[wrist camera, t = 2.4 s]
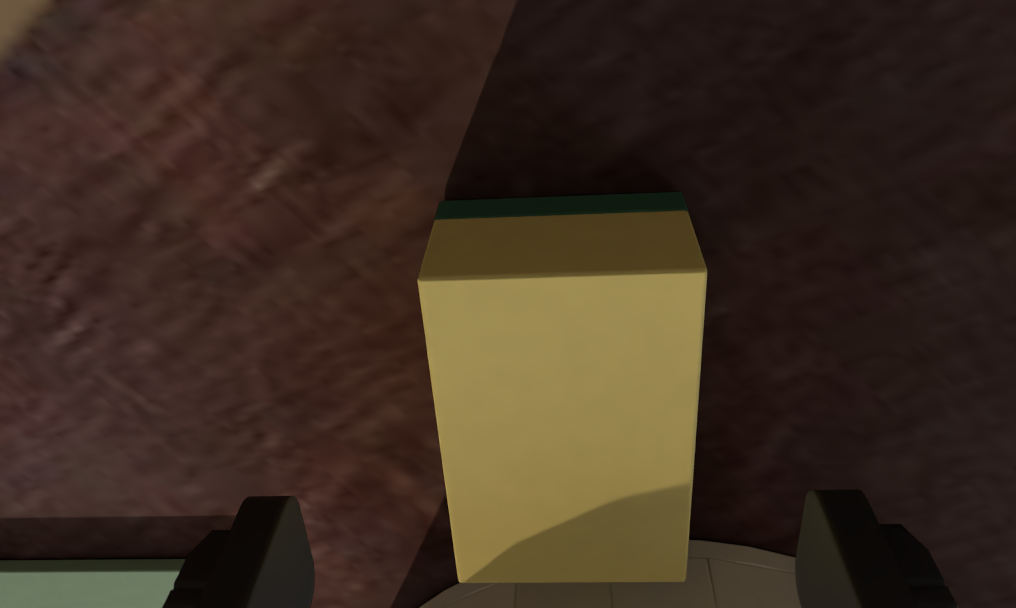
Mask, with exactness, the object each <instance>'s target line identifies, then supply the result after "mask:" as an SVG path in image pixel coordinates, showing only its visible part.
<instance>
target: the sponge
mask: <svg viewBox="0 0 1016 608" xmlns="http://www.w3.org/2000/svg"><path fill="white" fill-rule="evenodd" d="M434 220H435V221H434V225H433V228H432V231H431V235H430V238H429V242H428V245H427V249H426V252H425V256H424V259H423V263H422V266H421V270H420V273H419V277H418V287H419V294H420V302H421V309H422V316H423V324H424V331H425V339H426V346H427V353H428V361H429V368H430V376H431V383H432V390H433V398H434V405H435V413H436V420H437V427H438V435H439V442H440V450H441V457H442V464H443V472H444V479H445V487H446V494H447V501H448V509H449V516H450V524H451V531H452V538H453V546H454V553H455V561H456V568H457V575H458V580H459V582H460V583H548V582H684V581H685V579H686V572H687V557H688V543H689V528H690V514H691V500H692V485H693V471H694V457H695V442H696V428H697V413H698V399H699V385H700V370H701V356H702V341H703V327H704V313H705V298H706V284H707V268H706V265H705V262H704V259H703V256H702V253H701V250H700V247H699V244H698V241H697V238H696V235H695V232H694V229H693V226H692V223H691V220H690V217H689V214H688V209H687V206H686V203H685V200H684V197H683V194H682V192H664V193H638V194H612V195H586V196H559V197H533V198H507V199H481V200H455V201H440V202H439V206H438V209H437V213H436V216H435V219H434Z"/></svg>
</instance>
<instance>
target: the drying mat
mask: <svg viewBox="0 0 1016 608" xmlns="http://www.w3.org/2000/svg"><path fill="white" fill-rule="evenodd" d="M185 560H186V559H112V560H0V608H162V607H163V605H164V603H165V601H166V599H167V597H168V595H169V593H170V591H171V590H173V588H174V582H175V580H176V578H177V576H178V574H179V572H180V570H181V568H182V566H183V564H184V562H185Z"/></svg>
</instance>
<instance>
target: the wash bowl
mask: <svg viewBox="0 0 1016 608" xmlns="http://www.w3.org/2000/svg"><path fill="white" fill-rule="evenodd" d="M795 559H796V558H795V557H791V556H787V555H783V554H779V553H774V552H770V551H766V550H762V549H757V548H753V547H749V546H742V545H734V544H727V543H719V542H711V541H704V540H689V543H688V557H687V572H686V579H685V581H684V582H548V583H458V584H456V585H454V586H452V587H450V588H448V589H446V590H444V591H443V592H441V593H440V594H438V595H437V596H435V597H434V598H432V599H431V600H429V601H428V602H426V603H425V604H423V605H422V606H420V607H419V608H802V607H801V604H800V601H799V597H798V593H797V587H796V578H795Z"/></svg>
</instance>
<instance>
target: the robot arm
mask: <svg viewBox="0 0 1016 608" xmlns="http://www.w3.org/2000/svg"><path fill="white" fill-rule="evenodd" d="M795 578H796V587H797V593H798V597H799V601H800V604H801V607H802V608H957V604H956V602H955V600H954V599H953V597H952V595H951V593H950V591H949V589H948V587H945V585H944V579H943V577H942V576H941V574H940V572H939V570H938V568H937V566H936V564H935V562H934V560H933V558H932V556H931V554H930V552H929V551H928V549H926V548H925V547H924V546H923V545H922V544H921V543H920V542H919V541H918V540H917V539H916V538H915V537H914V536H913V535H912V534H910V533H909V532H908V531H907V530H906V529H905V528H904V527H903V526H902V525H901V524H879V523H878V521H877V519H876V517H875V515H874V513H873V511H872V508H871V506H870V504H869V502H868V500H867V498H866V496H865V495H864V493H863V492H862V491H861V490H810V491H808V493H807V495H806V499H805V504H804V510H803V516H802V522H801V528H800V534H799V540H798V546H797V553H796V559H795ZM314 579H315V573H314V563H313V558H312V554H311V550H310V546H309V542H308V538H307V534H306V530H305V526H304V522H303V518H302V514H301V510H300V506H299V502H298V500H297V498H296V497H294V496H254V497H247V498H246V499H245V500H244V501H243V503H242V505H241V507H240V509H239V511H238V513H237V516H236V518H235V520H234V522H233V525H232V527H231V529H230V530H212V531H211V532H210V533H209V534H208V535H207V536H206V537H205V538H204V539H203V540H202V541H201V542H200V543H199V544H198V545H197V546H196V547H195V549H194V550H193V551H192V552H191V553H190V554H189V555H188V556H187V558H186V560H185V562H184V564H183V566H182V568H181V570H180V572H179V574H178V576H177V578H176V580H175V582H174V588H173V590H171V591H170V593H169V595H168V597H167V599H166V601H165V603H164V605H163V607H162V608H310V606H311V602H312V598H313V592H314Z"/></svg>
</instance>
